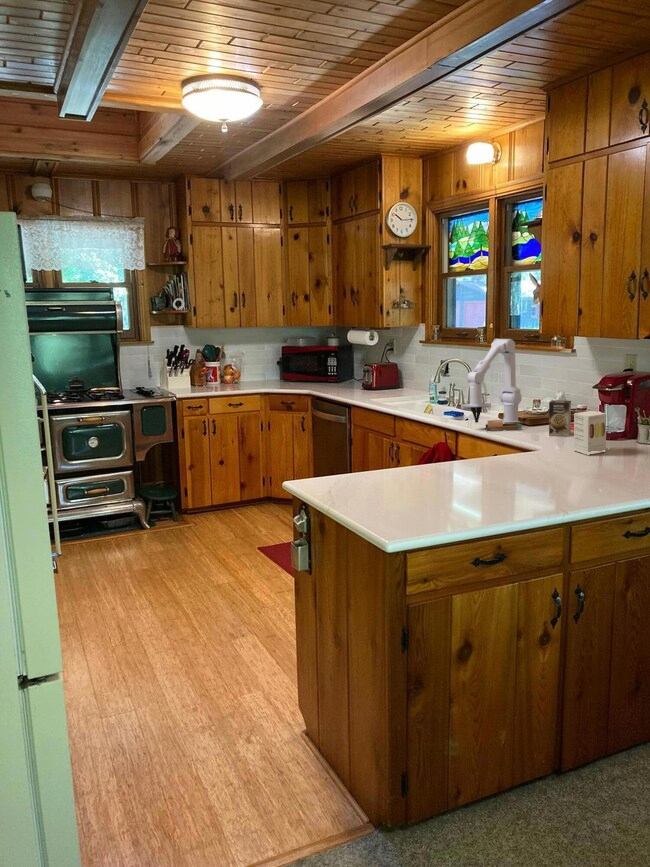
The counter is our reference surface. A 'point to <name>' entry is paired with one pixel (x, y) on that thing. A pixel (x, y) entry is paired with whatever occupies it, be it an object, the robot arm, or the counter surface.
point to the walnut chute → (506, 427)
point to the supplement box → (590, 431)
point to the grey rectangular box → (559, 418)
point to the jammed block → (495, 423)
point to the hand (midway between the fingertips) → (476, 422)
